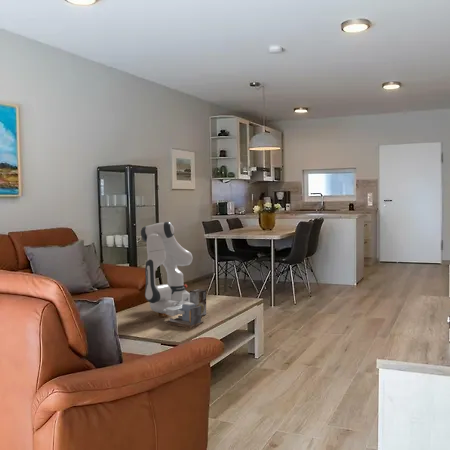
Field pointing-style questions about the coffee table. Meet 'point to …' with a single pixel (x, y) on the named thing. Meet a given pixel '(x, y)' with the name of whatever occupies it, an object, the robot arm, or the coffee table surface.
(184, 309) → the block
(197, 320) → the rail dock
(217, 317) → the coffee table surface
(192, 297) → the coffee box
